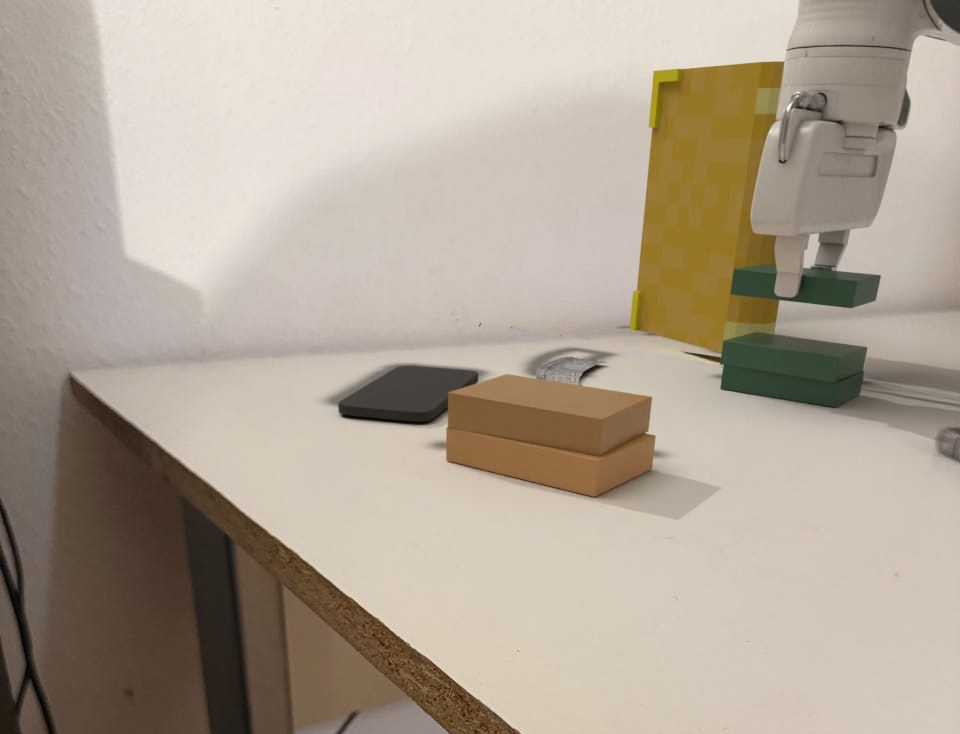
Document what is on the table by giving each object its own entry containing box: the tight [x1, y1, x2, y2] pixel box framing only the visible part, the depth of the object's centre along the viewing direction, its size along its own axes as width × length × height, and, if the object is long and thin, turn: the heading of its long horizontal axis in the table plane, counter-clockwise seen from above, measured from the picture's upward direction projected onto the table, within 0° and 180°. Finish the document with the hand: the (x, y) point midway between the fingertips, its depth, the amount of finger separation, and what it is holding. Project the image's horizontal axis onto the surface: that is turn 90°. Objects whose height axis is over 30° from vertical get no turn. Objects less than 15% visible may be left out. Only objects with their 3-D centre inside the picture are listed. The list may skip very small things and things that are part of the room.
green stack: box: [719, 332, 868, 408], centre depth 81 cm, size 10×7×4 cm
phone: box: [337, 365, 479, 423], centre depth 75 cm, size 7×1×15 cm
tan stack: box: [445, 373, 657, 498], centre depth 60 cm, size 11×8×4 cm
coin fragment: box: [535, 356, 607, 385], centre depth 86 cm, size 13×5×1 cm, turn 160°
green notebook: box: [730, 264, 882, 309], centre depth 78 cm, size 10×6×2 cm, turn 54°
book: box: [629, 60, 785, 363], centre depth 92 cm, size 17×7×25 cm, turn 27°
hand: (804, 292), depth 78 cm, fingers closed on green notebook, 6 cm apart
